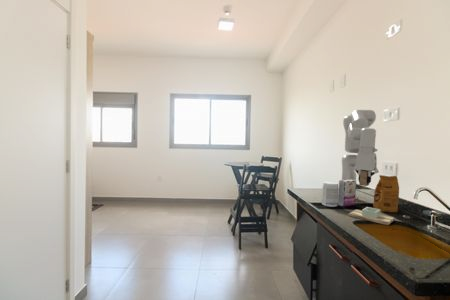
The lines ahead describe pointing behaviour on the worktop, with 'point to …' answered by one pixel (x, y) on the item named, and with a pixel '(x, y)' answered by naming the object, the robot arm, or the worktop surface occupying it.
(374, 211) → the pale green block
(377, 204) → the coffee package
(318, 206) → the worktop surface
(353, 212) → the maple board
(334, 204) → the supplement tub
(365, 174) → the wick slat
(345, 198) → the candy bar box
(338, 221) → the worktop surface
